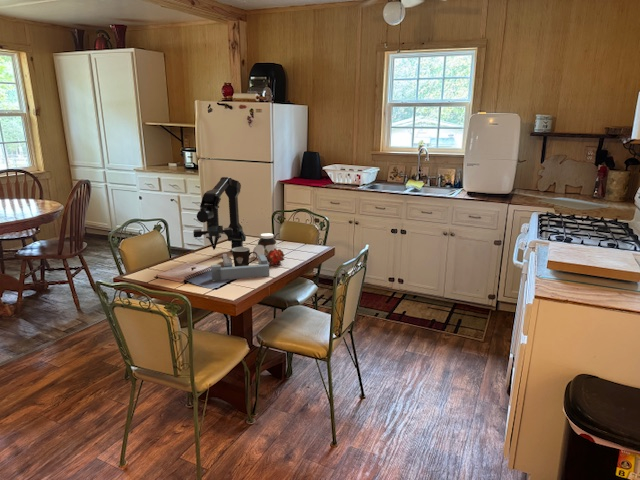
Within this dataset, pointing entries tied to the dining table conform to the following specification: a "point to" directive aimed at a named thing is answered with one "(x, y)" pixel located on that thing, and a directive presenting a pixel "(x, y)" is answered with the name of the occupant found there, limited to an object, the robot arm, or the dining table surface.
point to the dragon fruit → (275, 256)
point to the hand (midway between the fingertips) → (214, 249)
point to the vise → (241, 270)
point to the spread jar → (265, 245)
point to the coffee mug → (242, 256)
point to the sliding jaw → (227, 261)
